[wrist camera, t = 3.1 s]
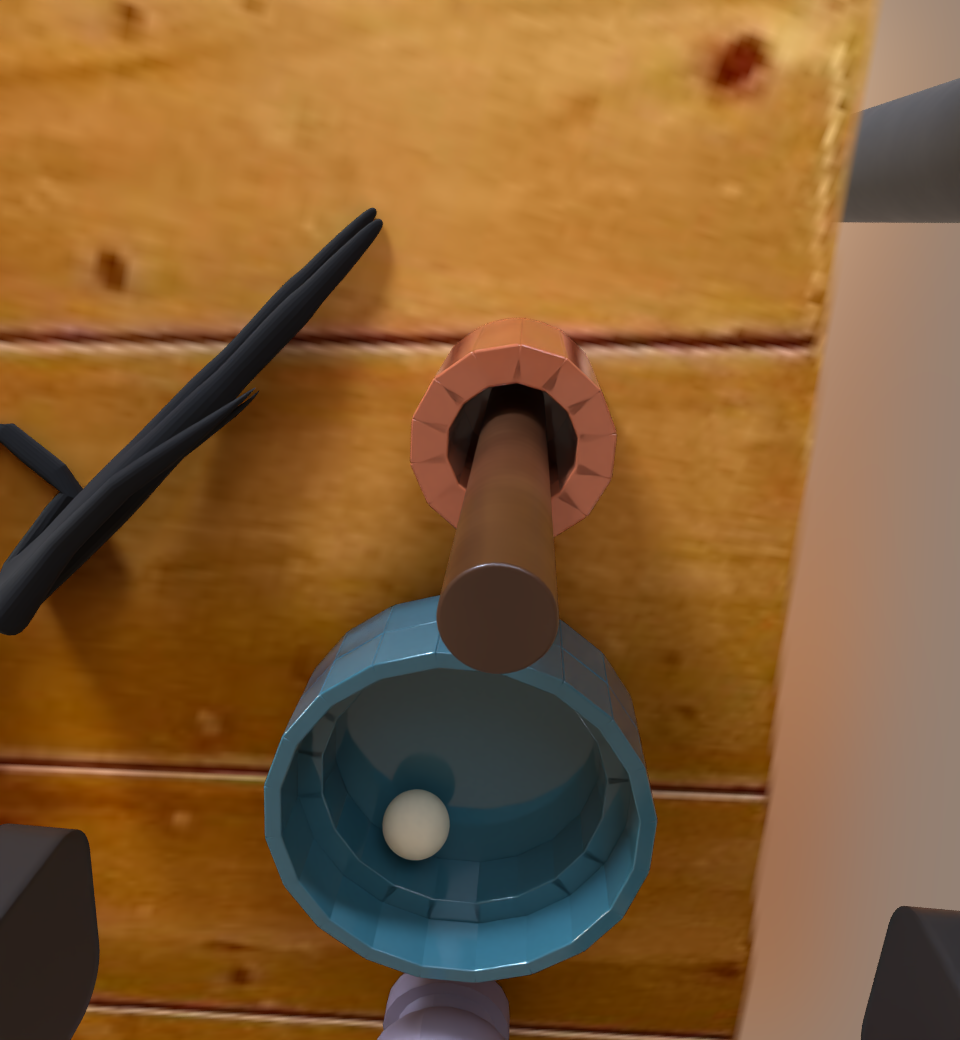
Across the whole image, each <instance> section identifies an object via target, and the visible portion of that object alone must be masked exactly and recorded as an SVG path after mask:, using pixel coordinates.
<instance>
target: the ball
mask: <svg viewBox="0 0 960 1040" xmlns="http://www.w3.org/2000/svg"><path fill="white" fill-rule="evenodd" d="M382 827H383V835H384V838H385V841H386V842H387V844H388V846H389V847H390V849H391V850H392V851H393V852H394V853H396V854H397V855H398V856H400V857H402V858H405V859H408V860H423V859H426V858H428V857H431V856H432V855H434V854H435V853H436V852H438V851H439V850H440V849H441V847H442V846H443V845H444V843H445V841H446V839H447V837H448V833H449V828H450V820H449V814H448V811H447V809H446V807H445V805H444V804H443V802H442V801H441V800H440V799H439V798H438V797H437V796H436V795H434V794H432V793H431V792H428V791H425V790H420V789H414V790H408V791H405V792H403V793H401V794H399V795H398V796H396V797H395V798H394V799H393V800H392V801H391V802H390V804H389V805H388V807H387V809H386V811H385V813H384V817H383V823H382Z"/></svg>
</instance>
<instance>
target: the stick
mask: <svg viewBox="0 0 960 1040" xmlns="http://www.w3.org/2000/svg"><path fill="white" fill-rule="evenodd" d="M436 617H437V627H438V631H439V634H440V637H441V639H442V641H443V643H444V644H445V646H446V647H447V649H448V650H449V651H450V652H451V654H452V655H453V656H455V657H456V658H457V659H458V660H459V661H460V662H462V663H463V664H465V665H467V666H469V667H470V668H473V669H475V670H478V671H481V672H485V673H492V674H506V673H512V672H517V671H519V670H522V669H525V668H527V667H529V666H531V665H532V664H534V663H535V662H537V661H538V660H539V659H540V658H542V657H543V656H544V655H545V653H546V652H547V651H548V650H549V648H550V647H551V645H552V644H553V642H554V640H555V637H556V634H557V631H558V626H559V609H558V594H557V579H556V565H555V550H554V535H553V520H552V506H551V491H550V476H549V462H548V447H547V432H546V417H545V403H544V396H543V393H542V391H540V390H537V389H534V388H531V387H527V386H524V385H521V384H517V383H516V384H510V385H503V386H497V387H493V388H492V390H491V392H490V395H489V398H488V402H487V407H486V411H485V415H484V419H483V423H482V427H481V431H480V435H479V439H478V443H477V447H476V451H475V455H474V459H473V464H472V468H471V472H470V476H469V480H468V484H467V488H466V492H465V496H464V500H463V504H462V508H461V512H460V516H459V521H458V525H457V529H456V533H455V537H454V541H453V545H452V549H451V553H450V557H449V561H448V565H447V569H446V573H445V578H444V582H443V586H442V590H441V594H440V598H439V602H438V606H437V614H436Z"/></svg>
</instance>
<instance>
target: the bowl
mask: <svg viewBox="0 0 960 1040" xmlns="http://www.w3.org/2000/svg"><path fill="white" fill-rule="evenodd" d="M439 598H440V595H438V596H433V597H429V598H424V599H420V600H415V601H410V602H406V603H401V604H396V605H394V606H391V607H390V608H388V609H386V610H384V611H383V612H381V613H379V614H377V615H376V616H374V617H372V618H370V619H369V620H367V621H365V622H363V623H362V624H360V625H358V626H356V627H355V628H353V629H351V630H349V631H348V632H347V633H346V634H345V635H344V636H343V637H342V638H341V640H340V641H339V642H338V643H337V644H336V645H335V646H334V648H333V649H332V650H331V651H330V652H329V653H328V654H327V656H326V657H325V658H324V659H323V660H322V661H321V662H320V664H319V665H318V666H317V667H316V668H315V670H314V672H313V674H312V676H311V678H310V680H309V682H308V684H307V686H306V688H305V690H304V692H303V694H302V696H301V698H300V700H299V703H298V705H297V707H296V709H295V711H294V713H293V715H292V717H291V719H290V721H289V723H288V725H287V727H286V729H285V731H284V733H283V736H282V738H281V740H280V743H279V746H278V748H277V751H276V754H275V757H274V759H273V762H272V765H271V767H270V770H269V773H268V775H267V778H266V781H265V785H264V819H265V839H266V842H267V844H268V847H269V849H270V852H271V854H272V857H273V859H274V862H275V864H276V867H277V870H278V872H279V875H280V877H281V880H282V882H283V885H284V886H285V888H286V889H287V890H288V891H289V893H290V894H291V895H292V896H293V897H294V899H295V900H296V901H297V902H298V903H299V905H300V906H301V907H302V908H303V910H304V911H305V912H306V913H307V914H308V916H309V917H310V918H311V919H312V920H313V922H314V923H315V924H316V925H317V926H318V927H319V928H320V929H322V930H323V931H325V932H326V933H328V934H329V935H331V936H332V937H334V938H335V939H336V940H338V941H339V942H341V943H342V944H344V945H345V946H347V947H348V948H350V949H351V950H353V951H354V952H356V953H357V954H359V955H360V956H362V957H363V958H365V959H367V960H370V961H372V962H375V963H378V964H381V965H384V966H387V967H389V968H392V969H395V970H398V971H401V972H404V973H406V974H409V975H412V976H415V977H420V978H426V979H437V980H447V981H458V982H468V983H476V982H477V983H481V982H488V981H494V980H501V979H507V978H514V977H520V976H527V975H531V974H532V973H533V974H535V973H537V972H539V971H542V970H544V969H546V968H548V967H551V966H553V965H555V964H557V963H560V962H562V961H564V960H566V959H569V958H571V957H573V956H575V955H578V954H580V953H582V951H583V952H584V951H585V950H587V949H588V948H589V947H590V946H591V945H592V944H593V943H595V942H596V941H597V940H598V939H599V938H600V937H602V936H603V935H604V934H605V933H606V932H607V931H608V930H610V929H611V928H612V927H613V926H614V925H615V924H617V923H618V922H619V921H620V920H621V919H622V918H623V916H624V915H625V913H626V912H627V910H628V908H629V907H630V905H631V903H632V901H633V900H634V898H635V896H636V894H637V893H638V891H639V889H640V887H641V886H642V884H643V882H644V880H645V879H646V877H647V875H648V873H649V870H650V866H651V859H652V853H653V847H654V840H655V834H656V827H657V815H656V810H655V805H654V800H653V796H652V791H651V786H650V781H649V777H648V772H647V767H646V762H645V757H644V753H643V748H642V743H641V739H640V734H639V730H638V725H637V721H636V717H635V712H634V708H633V704H632V699H631V697H630V694H629V693H628V691H627V689H626V688H625V686H624V685H623V683H622V682H621V680H620V679H619V677H618V676H617V674H616V672H615V671H614V669H613V668H612V666H611V665H610V663H609V662H608V660H607V659H606V657H605V655H604V654H603V653H602V652H601V651H600V650H598V649H597V648H596V647H595V646H593V645H592V644H591V643H590V642H588V641H587V640H586V639H585V638H583V637H582V636H581V635H580V634H578V633H577V632H576V631H574V630H573V629H572V628H571V627H569V626H568V625H567V624H566V623H564V622H563V621H562V620H559V626H558V631H557V634H556V637H555V640H554V642H553V644H552V645H551V647H550V648H549V650H548V651H547V652H546V653H545V655H544V656H543V657H542V658H540V659H539V660H538V661H537V662H535V663H534V664H532V665H531V666H529V667H527V668H525V669H522V670H519V671H517V672H512V673H506V674H492V673H485V672H481V671H478V670H475V669H473V668H470V667H469V666H467V665H465V664H463V663H462V662H460V661H459V660H458V659H457V658H456V657H455V656H453V655H452V654H451V652H450V651H449V650H448V649H447V647H446V646H445V644H444V643H443V641H442V639H441V637H440V634H439V631H438V627H437V617H436V614H437V606H438V602H439ZM414 789H420V790H425V791H428V792H431V793H432V794H434V795H436V796H437V797H438V798H439V799H440V800H441V801H442V802H443V804H444V805H445V807H446V809H447V811H448V814H449V820H450V828H449V833H448V837H447V839H446V841H445V843H444V845H443V846H442V847H441V849H440V850H439V851H438V852H436V853H435V854H434V855H432V856H431V857H428V858H426V859H423V860H408V859H405V858H402V857H400V856H398V855H397V854H396V853H394V852H393V851H392V850H391V849H390V847H389V846H388V844H387V842H386V841H385V838H384V835H383V827H382V823H383V817H384V813H385V811H386V809H387V807H388V805H389V804H390V802H391V801H392V800H393V799H394V798H395V797H396V796H398V795H399V794H401V793H403V792H405V791H408V790H414Z"/></svg>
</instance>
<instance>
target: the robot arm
mask: <svg viewBox="0 0 960 1040" xmlns="http://www.w3.org/2000/svg"><path fill="white" fill-rule="evenodd" d="M98 965H99V938H98V928H97V918H96V908H95V897H94V887H93V877H92V867H91V857H90V848H89V843H88V839H87V837H86V835H85V834H84V833H83V832H82V831H80V830H75V829H64V828H53V827H42V826H30V825H19V824H3V825H0V1040H71V1038H72V1036H73V1034H74V1033H75V1031H76V1029H77V1027H78V1026H79V1024H80V1022H81V1020H82V1018H83V1016H84V1014H85V1012H86V1009H87V1007H88V1005H89V1002H90V999H91V996H92V993H93V990H94V986H95V982H96V978H97V972H98ZM861 1040H960V911H954V910H943V909H931V908H921V907H909V906H901V907H899V908H897V909H896V910H895V912H894V913H893V915H892V917H891V919H890V922H889V925H888V929H887V933H886V937H885V940H884V944H883V948H882V952H881V956H880V959H879V963H878V967H877V970H876V974H875V978H874V982H873V985H872V989H871V993H870V997H869V1000H868V1004H867V1008H866V1012H865V1016H864V1019H863V1025H862V1032H861Z"/></svg>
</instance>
